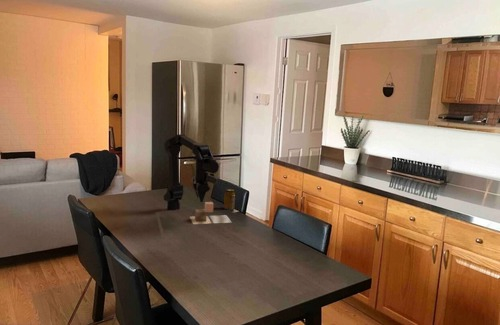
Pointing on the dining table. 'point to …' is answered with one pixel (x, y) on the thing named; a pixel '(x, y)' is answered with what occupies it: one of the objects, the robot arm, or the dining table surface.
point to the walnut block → (200, 215)
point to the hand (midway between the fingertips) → (199, 199)
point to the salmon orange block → (209, 207)
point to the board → (214, 219)
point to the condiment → (229, 200)
